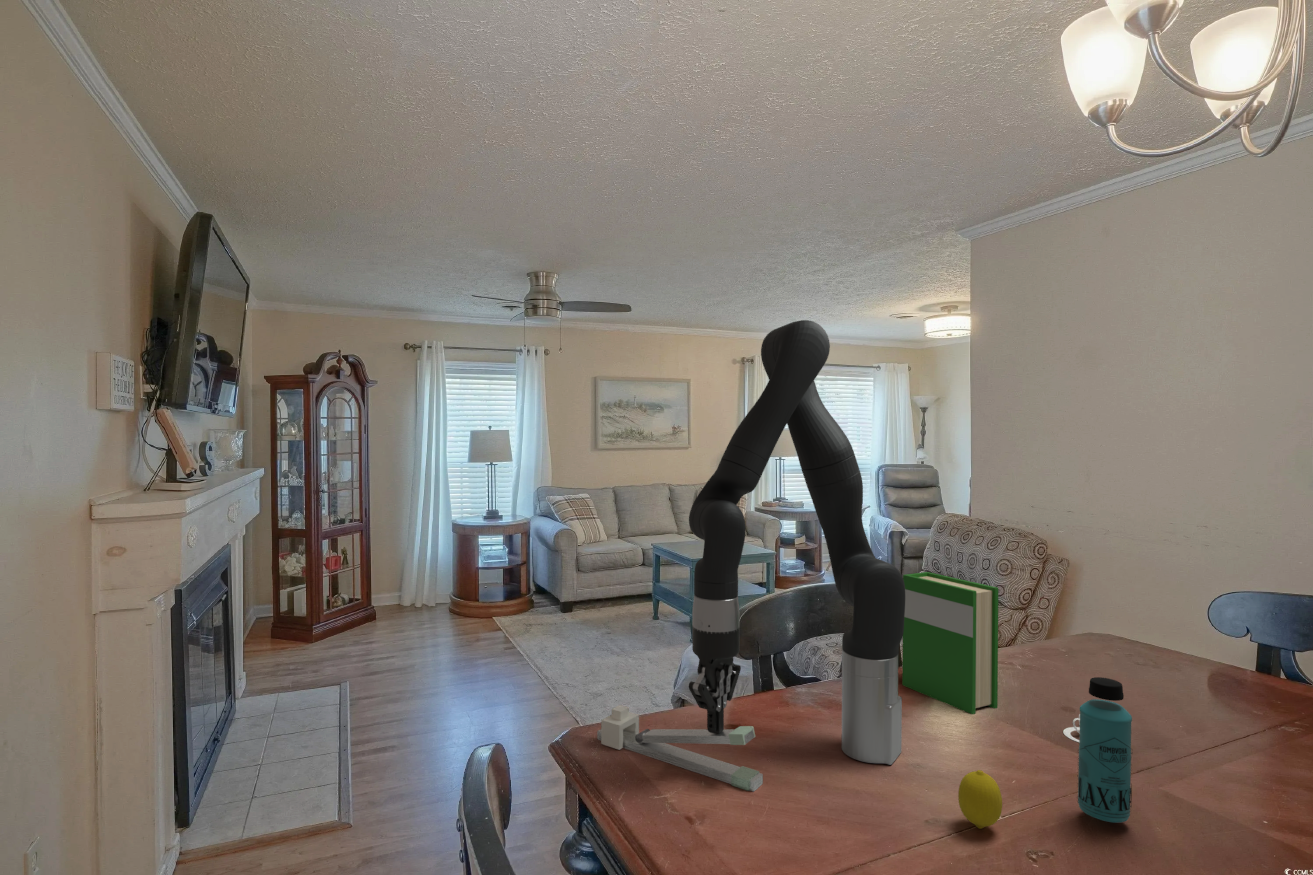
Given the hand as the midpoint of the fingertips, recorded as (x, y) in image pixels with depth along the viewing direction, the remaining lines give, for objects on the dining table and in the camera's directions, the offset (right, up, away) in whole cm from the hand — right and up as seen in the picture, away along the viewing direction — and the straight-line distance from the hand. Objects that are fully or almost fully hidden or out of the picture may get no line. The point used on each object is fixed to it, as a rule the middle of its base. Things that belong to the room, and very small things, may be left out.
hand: (715, 731), depth 112 cm
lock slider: (-16, -6, +11) cm, 20 cm away
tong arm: (-3, -2, +2) cm, 4 cm away
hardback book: (+51, -7, +34) cm, 62 cm away
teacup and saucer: (+70, -8, +12) cm, 72 cm away
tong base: (-6, -7, +5) cm, 10 cm away
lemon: (+35, -7, -15) cm, 39 cm away
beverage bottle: (+54, -7, -13) cm, 56 cm away
